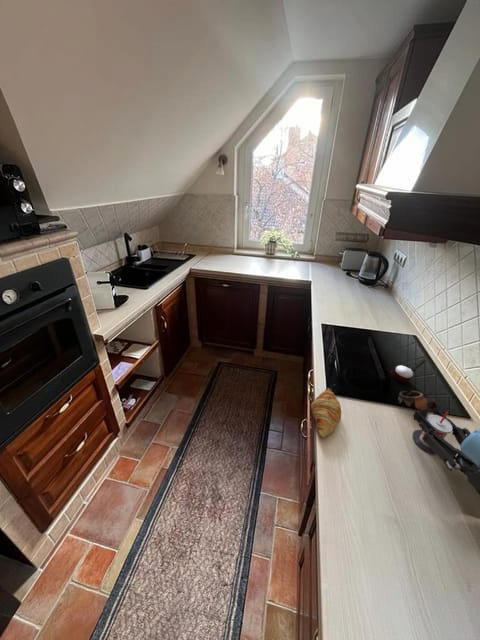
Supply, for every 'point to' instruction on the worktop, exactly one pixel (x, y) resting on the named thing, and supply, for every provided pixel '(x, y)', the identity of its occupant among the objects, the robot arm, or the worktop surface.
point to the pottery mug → (418, 402)
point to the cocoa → (405, 372)
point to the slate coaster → (417, 440)
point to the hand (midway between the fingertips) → (425, 412)
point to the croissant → (326, 412)
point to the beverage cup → (438, 426)
